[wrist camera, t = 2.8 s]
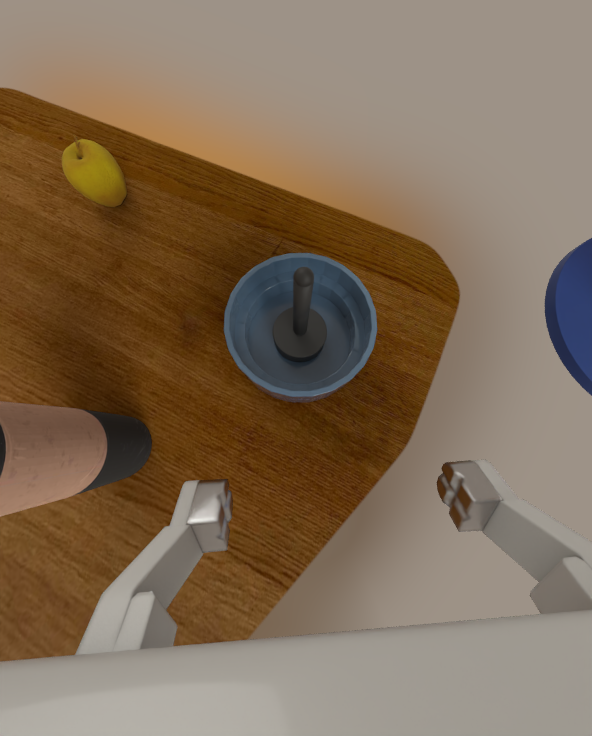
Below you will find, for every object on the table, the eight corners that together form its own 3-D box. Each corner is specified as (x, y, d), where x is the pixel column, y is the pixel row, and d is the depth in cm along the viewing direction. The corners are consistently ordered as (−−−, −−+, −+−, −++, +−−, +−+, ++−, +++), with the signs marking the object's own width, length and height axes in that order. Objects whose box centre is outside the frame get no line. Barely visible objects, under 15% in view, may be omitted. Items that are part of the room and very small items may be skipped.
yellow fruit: (122, 173, 42) (83, 113, 34) (145, 202, 40) (110, 147, 33) (83, 195, 41) (33, 139, 33) (105, 225, 40) (60, 175, 32)
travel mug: (116, 496, 32) (-161, 599, 12) (74, 448, 33) (-242, 473, 13) (168, 445, 33) (-10, 464, 14) (125, 400, 34) (-95, 360, 15)
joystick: (329, 320, 36) (355, 244, 21) (318, 367, 35) (337, 321, 20) (281, 309, 36) (273, 226, 22) (268, 355, 35) (250, 300, 20)
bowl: (372, 298, 38) (389, 271, 31) (347, 417, 34) (360, 414, 28) (255, 270, 38) (248, 238, 32) (219, 384, 35) (203, 374, 28)
